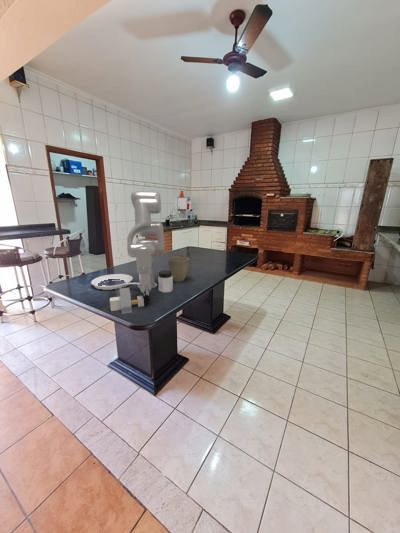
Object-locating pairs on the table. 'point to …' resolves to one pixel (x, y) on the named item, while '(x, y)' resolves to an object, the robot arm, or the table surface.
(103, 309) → the table surface
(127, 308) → the block
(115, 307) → the block ended dumbbell
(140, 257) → the robot arm
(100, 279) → the pan
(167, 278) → the jar
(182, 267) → the plant pot
